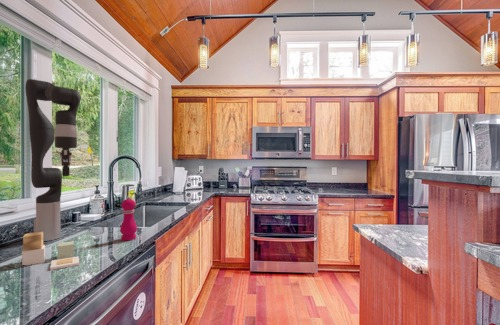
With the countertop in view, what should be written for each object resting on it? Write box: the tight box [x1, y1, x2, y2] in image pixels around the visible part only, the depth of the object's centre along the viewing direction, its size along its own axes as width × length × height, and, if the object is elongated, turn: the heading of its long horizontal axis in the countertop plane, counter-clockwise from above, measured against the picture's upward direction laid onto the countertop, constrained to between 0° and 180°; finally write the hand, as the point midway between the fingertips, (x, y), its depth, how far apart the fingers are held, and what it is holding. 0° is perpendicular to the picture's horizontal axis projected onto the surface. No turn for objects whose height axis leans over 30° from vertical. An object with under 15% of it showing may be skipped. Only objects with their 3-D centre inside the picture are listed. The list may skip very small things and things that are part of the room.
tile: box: [49, 255, 80, 271], centre depth 95 cm, size 8×8×1 cm
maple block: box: [22, 232, 44, 251], centre depth 98 cm, size 5×5×5 cm
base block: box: [21, 244, 46, 266], centre depth 98 cm, size 6×6×5 cm
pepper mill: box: [119, 195, 138, 242], centre depth 127 cm, size 7×7×20 cm
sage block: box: [57, 240, 75, 260], centre depth 103 cm, size 5×5×5 cm
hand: (66, 175), depth 113 cm, fingers open, 8 cm apart
